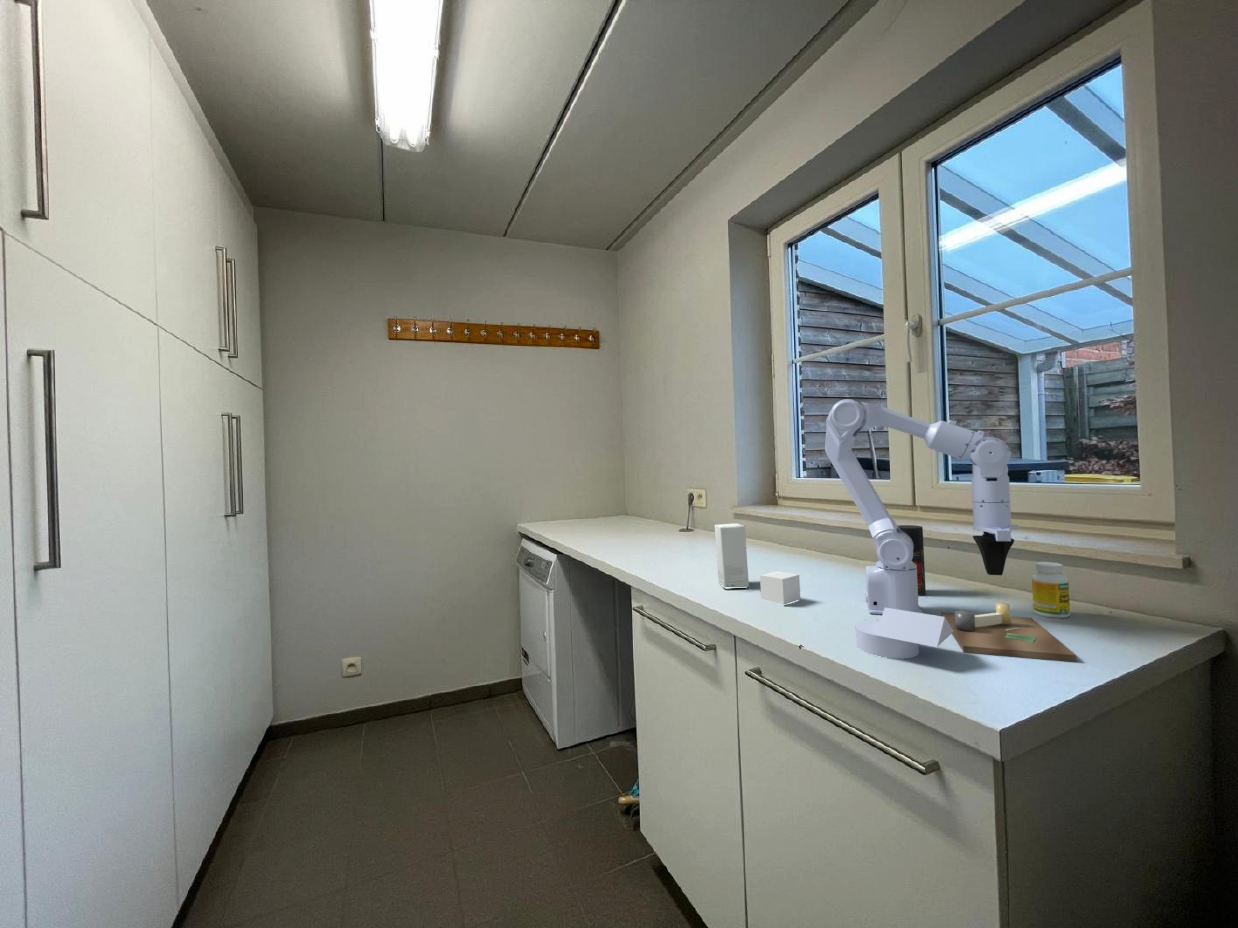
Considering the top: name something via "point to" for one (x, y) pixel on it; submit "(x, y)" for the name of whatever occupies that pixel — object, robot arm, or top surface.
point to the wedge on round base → (901, 633)
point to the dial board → (1011, 640)
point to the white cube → (780, 587)
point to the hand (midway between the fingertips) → (994, 574)
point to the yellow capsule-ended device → (982, 618)
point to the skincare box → (731, 555)
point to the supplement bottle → (1050, 591)
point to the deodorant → (917, 553)
